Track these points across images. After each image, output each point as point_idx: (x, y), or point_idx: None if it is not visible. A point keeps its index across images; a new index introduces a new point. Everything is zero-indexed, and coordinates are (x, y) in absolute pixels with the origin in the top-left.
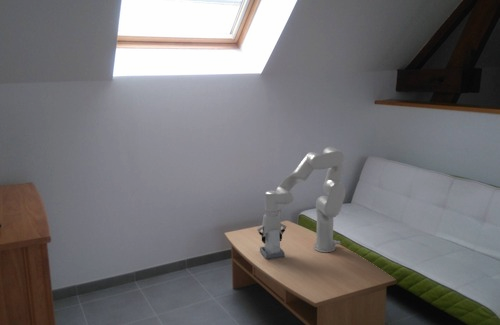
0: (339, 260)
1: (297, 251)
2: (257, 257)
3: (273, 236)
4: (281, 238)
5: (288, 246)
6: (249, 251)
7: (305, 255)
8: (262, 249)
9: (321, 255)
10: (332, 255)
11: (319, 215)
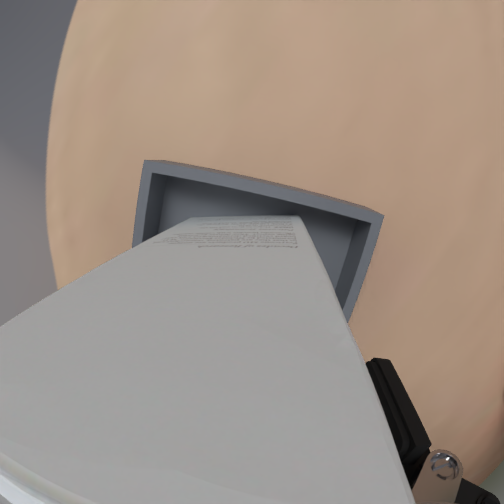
0: (464, 465)
1: (452, 336)
2: (95, 264)
3: None
4: None
5: (473, 213)
6: (88, 111)
7: (432, 403)
8: (142, 233)
9: (475, 421)
10: (494, 428)
11: None
